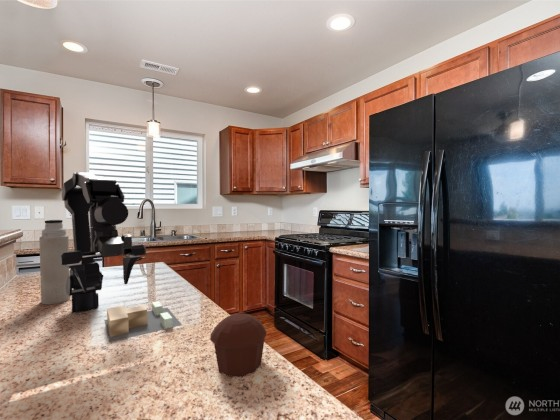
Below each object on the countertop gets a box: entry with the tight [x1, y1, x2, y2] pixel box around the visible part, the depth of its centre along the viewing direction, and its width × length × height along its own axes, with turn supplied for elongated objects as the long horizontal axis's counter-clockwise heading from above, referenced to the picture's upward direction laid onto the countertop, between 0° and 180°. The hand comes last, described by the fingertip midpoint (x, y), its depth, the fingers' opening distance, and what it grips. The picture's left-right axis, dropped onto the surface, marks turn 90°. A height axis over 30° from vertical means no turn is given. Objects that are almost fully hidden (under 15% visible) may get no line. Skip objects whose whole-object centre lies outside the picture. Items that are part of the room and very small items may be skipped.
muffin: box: [209, 313, 267, 378], centre depth 61 cm, size 12×11×10 cm
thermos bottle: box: [39, 219, 71, 305], centre depth 101 cm, size 8×8×28 cm
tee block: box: [106, 304, 148, 337], centre depth 79 cm, size 9×10×4 cm
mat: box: [104, 307, 183, 343], centre depth 81 cm, size 17×16×1 cm
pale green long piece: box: [151, 300, 174, 330], centre depth 84 cm, size 2×16×2 cm, turn 34°
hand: (106, 287), depth 75 cm, fingers open, 9 cm apart
